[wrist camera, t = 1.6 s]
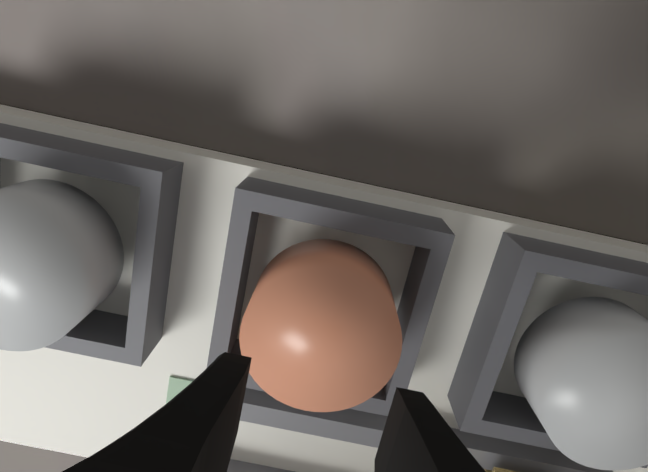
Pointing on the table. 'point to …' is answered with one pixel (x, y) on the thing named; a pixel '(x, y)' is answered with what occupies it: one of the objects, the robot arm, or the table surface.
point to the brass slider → (499, 470)
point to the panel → (242, 277)
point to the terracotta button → (322, 327)
